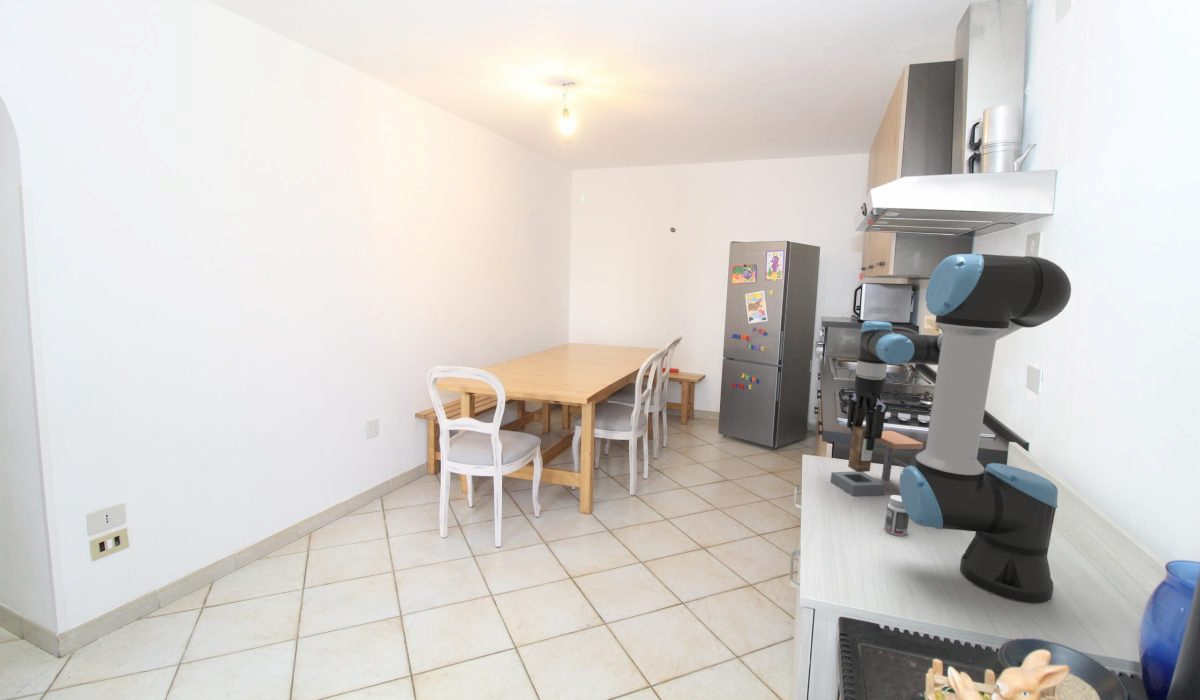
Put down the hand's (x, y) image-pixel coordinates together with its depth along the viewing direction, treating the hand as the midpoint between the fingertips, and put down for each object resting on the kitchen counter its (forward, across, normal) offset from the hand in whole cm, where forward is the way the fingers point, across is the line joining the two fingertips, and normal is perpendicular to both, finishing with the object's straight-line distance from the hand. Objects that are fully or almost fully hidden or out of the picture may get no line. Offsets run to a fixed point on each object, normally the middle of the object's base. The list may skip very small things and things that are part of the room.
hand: (860, 457), depth 155 cm
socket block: (+9, 0, 0) cm, 9 cm away
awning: (+9, 0, -10) cm, 14 cm away
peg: (+4, 0, 0) cm, 4 cm away
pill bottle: (+9, -25, +8) cm, 28 cm away
